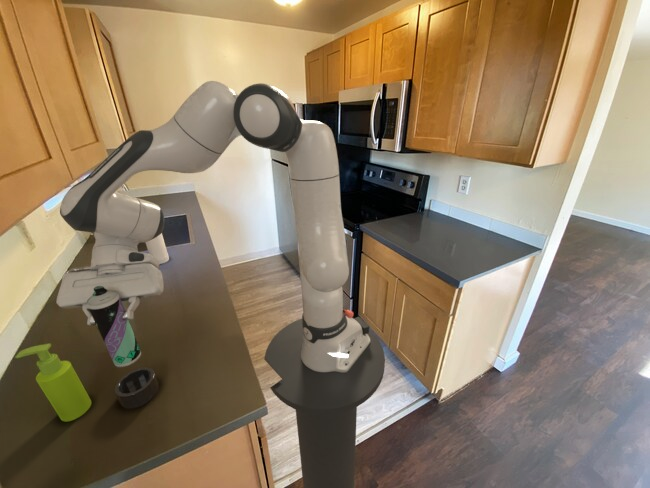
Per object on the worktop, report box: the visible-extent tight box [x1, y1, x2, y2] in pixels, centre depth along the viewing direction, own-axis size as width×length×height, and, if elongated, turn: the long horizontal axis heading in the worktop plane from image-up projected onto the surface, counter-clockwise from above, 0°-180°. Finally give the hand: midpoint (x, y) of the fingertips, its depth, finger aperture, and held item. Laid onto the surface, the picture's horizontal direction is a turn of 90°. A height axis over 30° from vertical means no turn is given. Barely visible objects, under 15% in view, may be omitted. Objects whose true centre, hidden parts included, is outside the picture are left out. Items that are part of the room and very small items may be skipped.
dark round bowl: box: [114, 367, 160, 410], centre depth 70 cm, size 8×8×4 cm
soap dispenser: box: [14, 343, 92, 423], centre depth 63 cm, size 6×7×20 cm
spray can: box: [87, 286, 142, 368], centre depth 62 cm, size 6×6×20 cm
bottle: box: [144, 232, 170, 265], centre depth 134 cm, size 8×8×30 cm
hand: (111, 322), depth 61 cm, fingers closed on spray can, 5 cm apart
